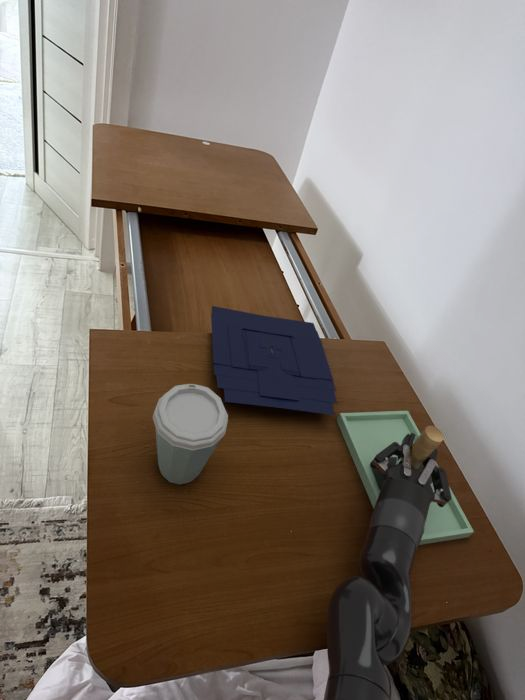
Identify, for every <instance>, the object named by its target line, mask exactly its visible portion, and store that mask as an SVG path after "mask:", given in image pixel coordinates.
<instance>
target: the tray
mask: <svg viewBox="0 0 525 700" xmlns="http://www.w3.org/2000/svg"><path fill="white" fill-rule="evenodd" d="M335 420H336V422H337V425H338V428H339V430H340V432H341V434H342V437H343V440H344V442H345V445H346V447H347V449H348V451H349V454H350V456H351V459H352V461H353V463H354V465H355V468H356V471H357V473H358V476H359V477H360V480H361V482H362V484H363V488H364V489H365V492H366V494H367V496H368V499H369V502H370V503H371V506H372V508H373V509H374V508H375V505H376V502H377V499H378V496H379V494H380V491H381V490H380V489H379V487H378V484H377V482H376V479H375V477H374V474H373V472H372V469H371V467H370V463H371V462H372V460H373V459H374V458H375V456H376V455H377V454H378V453H380V452H381V451H382V450H384V449H385V448H386V447H388V446H389V445H391V444H392V443H393V442H397V443H398V444H399V445H401V443H402V441H403V439H404V437H405V436H406V435H407V434H411V433H414V434H416V436H415V439H414V442H415V441H416V439H417V438H418V437H419V436H420V434H421V432H420V430H419V429H418V427H417V425H416V423H415V421H414V419H413V418H412V416H411V414H410V411H409V410H390V411H389V410H387V411H362V412H361V411H360V412H359V411H358V412H339V414H338V416H337V418H336V419H335ZM414 442H413V443H414ZM391 457H397V456H396V455H393V456H391ZM435 462H436V465H437V466H438V467H439V464H438V463H437V460H436V461H435ZM431 487H432V489H433V492H434V487H433V483H432V484H431ZM449 488H450V493H451V497H452V499H451V500H450V501H449V502H448V503H447V504H446V505H445V506H444V507H439V506H438V504H437V503H435V502H431V503H430V506H429V510H428V514H427V519H426V523H425V527H424V529H425V530H424V534H423V536H422V539H421V542H420V544H419V546H422V545H429V544H435V543H441V542H448V541H454V540H460V539H466V538H469V537H470V536H471V535H473V534H474V533H475V531H474V529H473V527H472V525H471V524H470V522H469V520H468V518H467V517H466V514H465V512H464V511H463V509H462V506H460V503H459V501H458V499H457V497H456V496H455V494H454V493H453V491H452V489H451V487H450V486H449Z"/></svg>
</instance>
